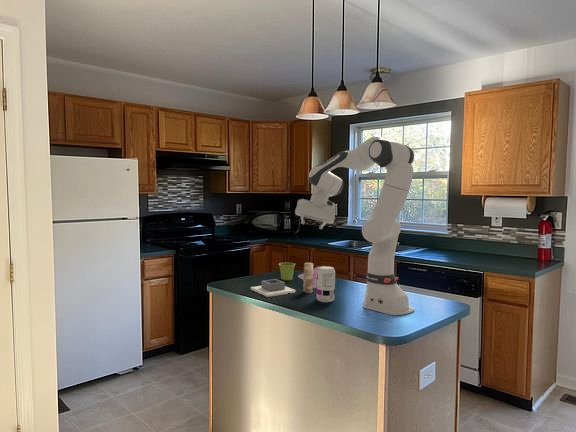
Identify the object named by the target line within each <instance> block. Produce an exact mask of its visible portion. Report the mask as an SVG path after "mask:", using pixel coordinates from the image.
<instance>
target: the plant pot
mask: <svg viewBox="0 0 576 432" xmlns="http://www.w3.org/2000/svg"><path fill="white" fill-rule="evenodd" d="M278 265H279V270H280V271H279V272H280V279H281V281H282V280H283V281H292V280H293V279H294V278H293V277H294V270H295V267H296V263H294V262H279V263H278Z"/></svg>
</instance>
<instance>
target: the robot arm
mask: <svg viewBox="0 0 576 432" xmlns="http://www.w3.org/2000/svg"><path fill="white" fill-rule="evenodd" d="M414 159H415V152H414V151H413V149H412V148H411V147H410V146H408V145H406V144H403V143H400V142H398V141H395V140H391V139H387V138H384V137H382V136H381V135H373V136H371V137H369V138H368V139H366V140H365V141H363V142H362V143H360V144H359V145H358V146H357V147H356V148H353V149H351V150H343V151H339V152H338V153H337V154H335V155H334V156H332V157H330V158H328V159H327V160H325V161H324V162H322V163H320V164H318V165H315V166H313V168H312V169H310V171H309V172H308V175H307V177H308V182H309V184H310V185H312V186H314V188H313V193H312V194H311V197H310V200H308V199H304V198H301V199H298V200H297V202H296V208H295V210H294V214H295V216H299V217H300V220H301V222H300V224H301V225H305V221H306V220H305V219H304V218H307V219H310V220H315V221H317V222H318V221H319V222H322V224H320V225H319V227H318V229H320V230H323V228H324V226H325V225H326V224H329V225H333V224H334V222H335V217H336V204H335V202H333V201H331V200H329V198H330V197H334V196H339V194H341V193H342V190H343V189H344V181H343V179H342V178H341V177H339V176H337V175H335V174H334V173H332V172H331V171H333V170H335V169H336V168H337V169H338V168H347V169H349V170H353V171H357V172H364V171H367V170H368V169H371V167H372V166H374V165H375V164H376V165H378V166H379V167H380V168H381V169H382V168H385V170H386V175H385V178H384V181H383V184H382V187H381V189H380V193H379V196H378V198H377V201H376V203H375V205H374V207H373V209H372V210H371V213H370V214H369V216H368V218H367V219H366V220H365V222H364V223H363V225H362V227H361V235H362V236H363V238H364V240H366V241H368V242H370V243H371V247H370V248H371V249H370V251H369V253H368V257H367V259H368V261H367V272H366V287H365V293H364V299H363V302H362V304H363V305H362V307H363V308H364V309H368V310H371V311H376V312H379V313H381V314H387V315H391V316H402V315H407V314H412V313H413V312H415V307H413V306H411V305H410V301H409V296H408V294H407V293H406V292H405V291H404V290H403V289H402V288H401V287H400V286H399V285H398V284H397V281H398V280H399V276H396V275H395V273H394V271H395V270H394V267H395V254H396V250H397V245H398V239H399V235H400V233H401V229H402V225H401V223H400V221H399V219H397V218H398V216H399V214H400V213H401V211H402V210H403V209H404V207H405V204H406V202H407V198H408V194H409V191H410V189H411V187H412V182H413V176H414V166H413V165H412V164H413V162H414Z"/></svg>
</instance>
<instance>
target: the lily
mask: <svg viewBox="0 0 576 432" xmlns="http://www.w3.org/2000/svg"><path fill="white" fill-rule="evenodd" d="M318 267H319V266H316V267H315V268H314V267H313V289H315V288H316V289H317V270H318ZM297 277H298V278H299V279H302V281H304V273H301V274H298V275H297ZM302 286H303V288H304V284H303V285H302Z"/></svg>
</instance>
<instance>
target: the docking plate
mask: <svg viewBox="0 0 576 432" xmlns="http://www.w3.org/2000/svg"><path fill="white" fill-rule="evenodd" d="M260 284H261V285H258V286H250V291H253V292H255V293H257V294H260V295H263V296H264V297H267V298H269V297H275V296H282V295H289V294H288V293H290V294H296V293H295V292H296V289H293V288H291V287H288V286H286V282H285V281H284V280H283V281H282V280H280V279H277V278H273V279H266V280H261V282H260Z"/></svg>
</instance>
